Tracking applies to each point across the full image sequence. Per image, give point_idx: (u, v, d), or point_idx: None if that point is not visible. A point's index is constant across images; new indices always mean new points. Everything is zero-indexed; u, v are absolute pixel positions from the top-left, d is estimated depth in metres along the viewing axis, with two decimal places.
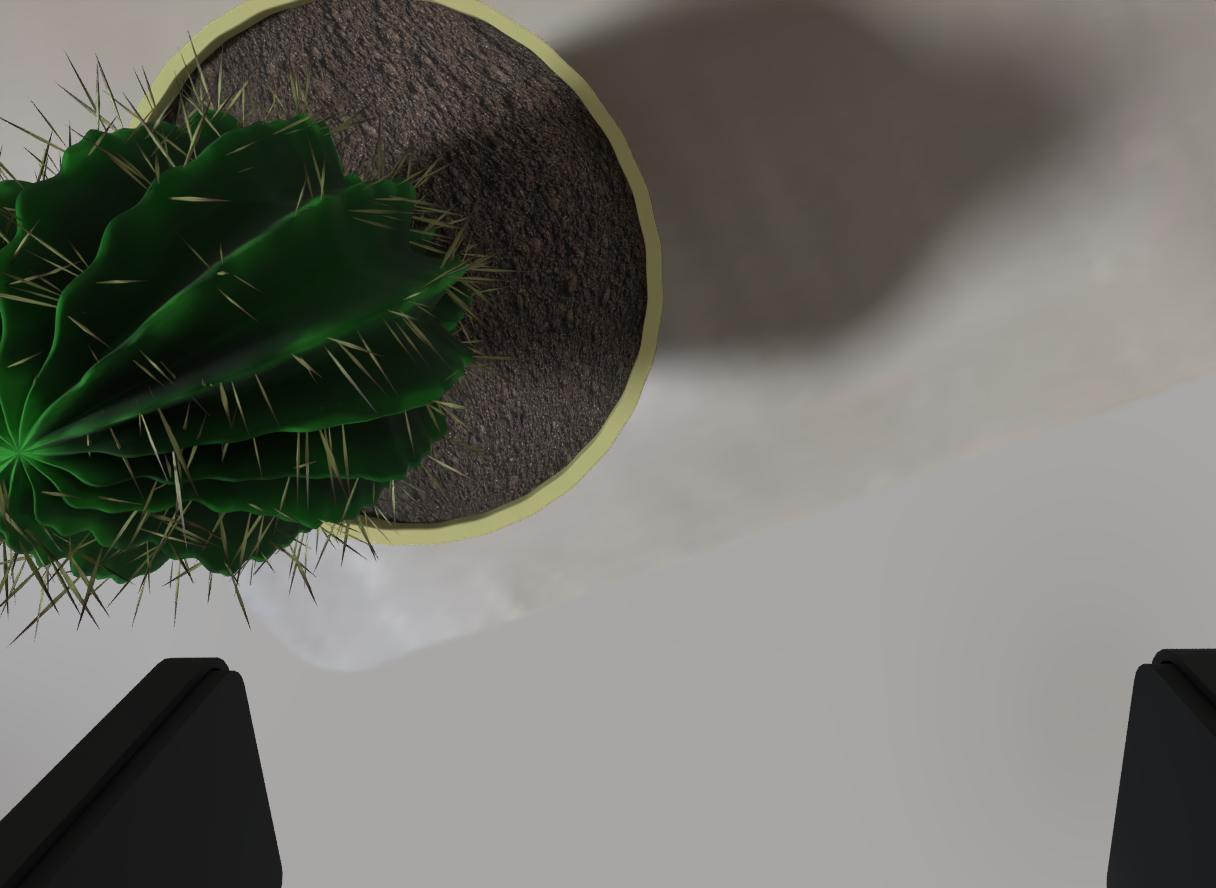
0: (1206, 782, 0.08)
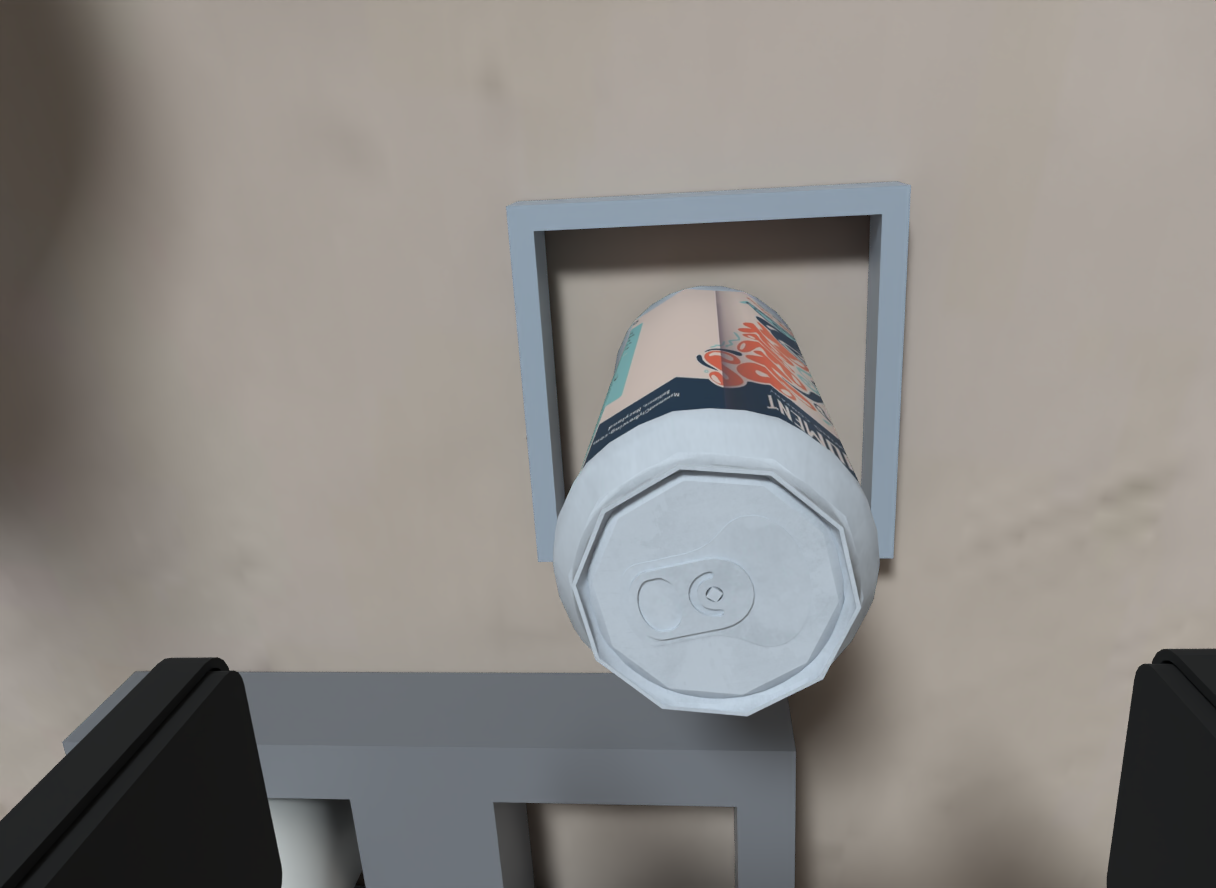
0: (1206, 782, 0.08)
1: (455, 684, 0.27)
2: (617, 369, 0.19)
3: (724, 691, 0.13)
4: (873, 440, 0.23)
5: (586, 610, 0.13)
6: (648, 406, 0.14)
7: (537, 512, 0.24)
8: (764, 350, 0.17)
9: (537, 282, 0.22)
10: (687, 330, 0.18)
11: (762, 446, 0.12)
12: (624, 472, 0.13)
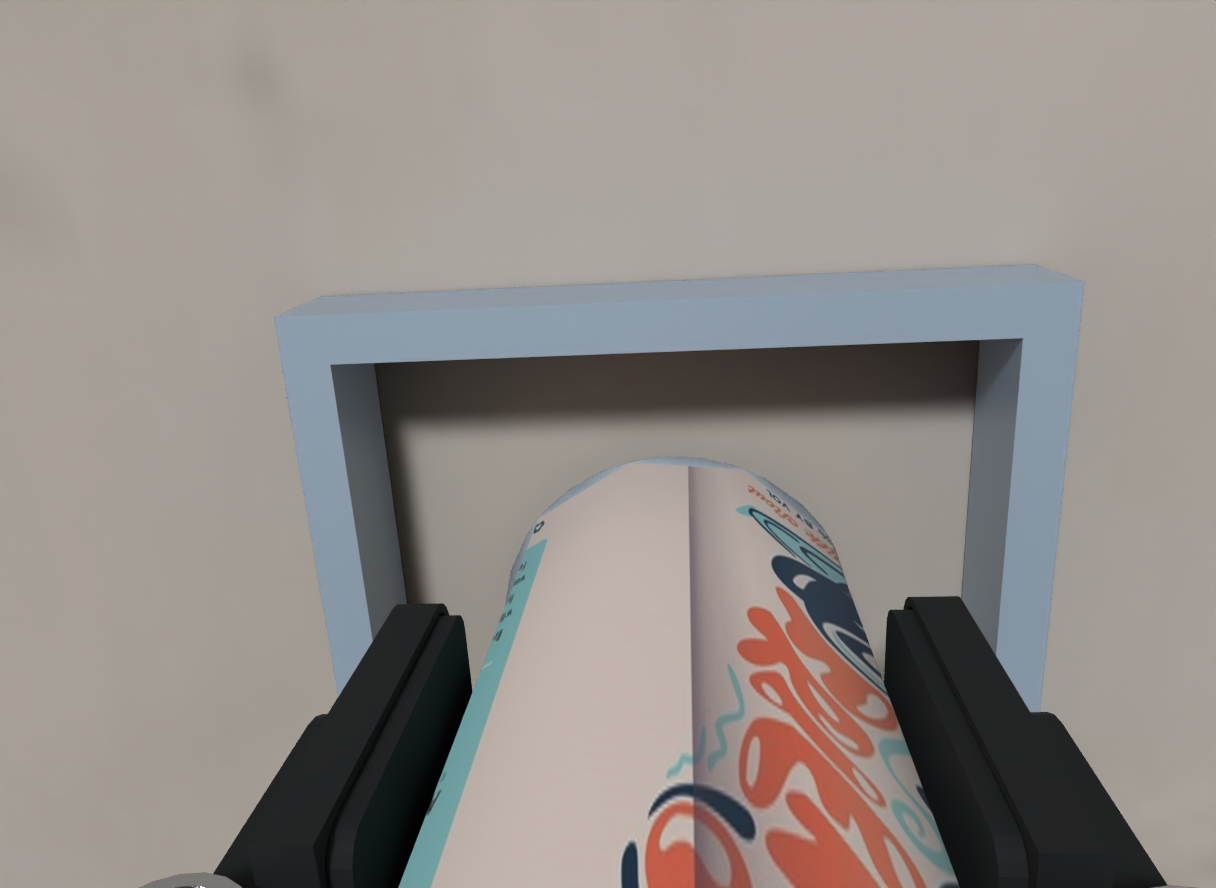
0: (914, 705, 0.09)
1: None
2: None
3: None
4: None
5: None
6: None
7: None
8: (810, 766, 0.06)
9: (345, 459, 0.11)
10: (615, 663, 0.07)
11: None
12: None
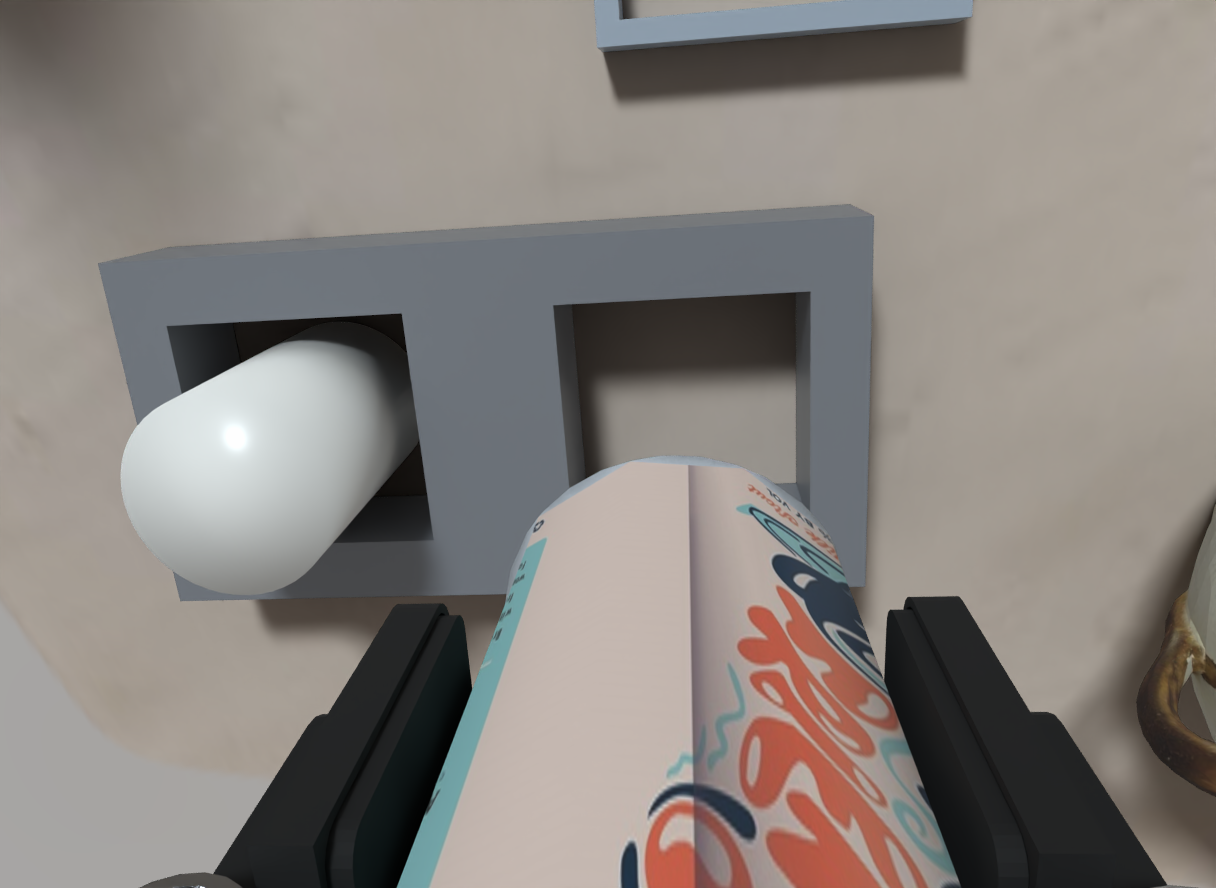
0: (914, 705, 0.09)
1: (506, 227, 0.26)
2: None
3: None
4: None
5: None
6: None
7: None
8: (811, 765, 0.06)
9: None
10: (615, 662, 0.07)
11: None
12: None
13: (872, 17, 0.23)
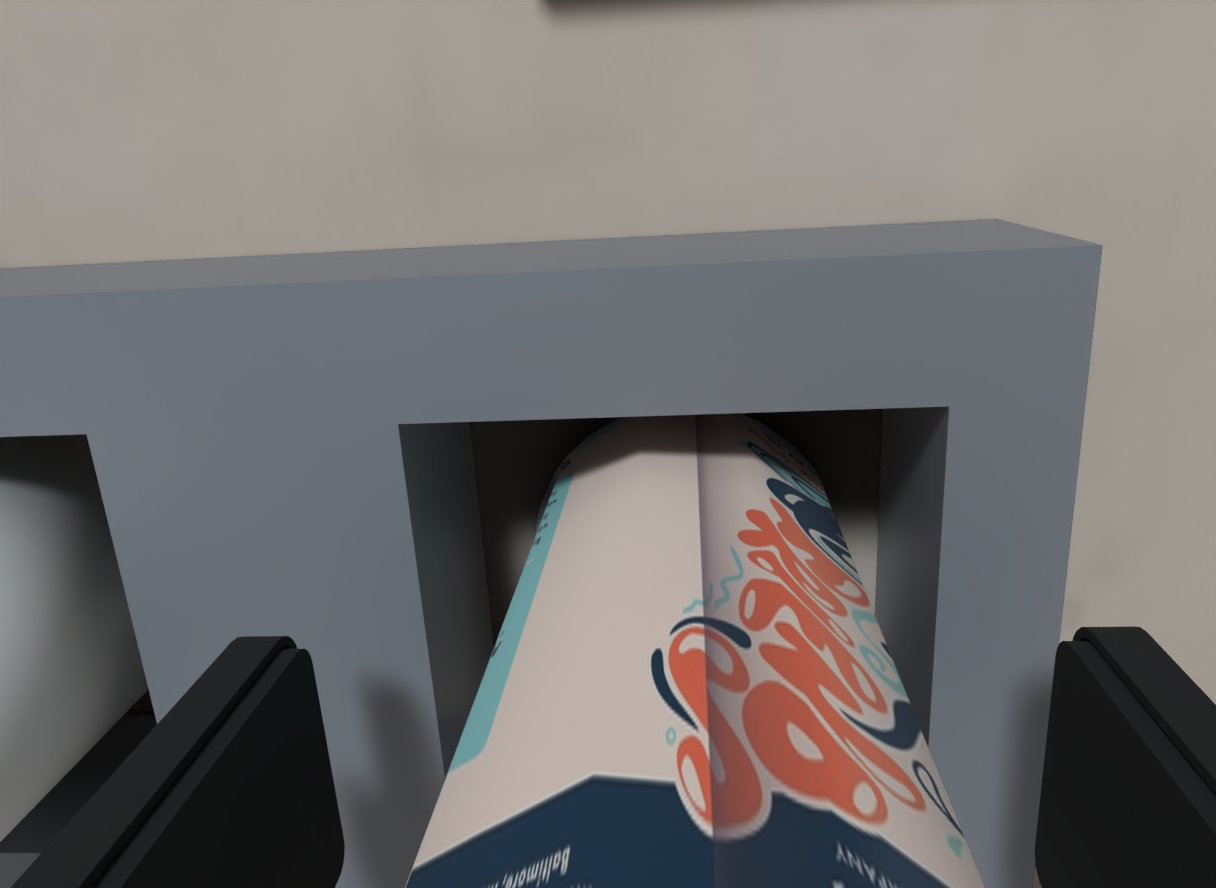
0: (1111, 750, 0.08)
1: (335, 256, 0.13)
2: None
3: None
4: None
5: None
6: None
7: None
8: (795, 609, 0.08)
9: None
10: (640, 543, 0.09)
11: None
12: None
13: None
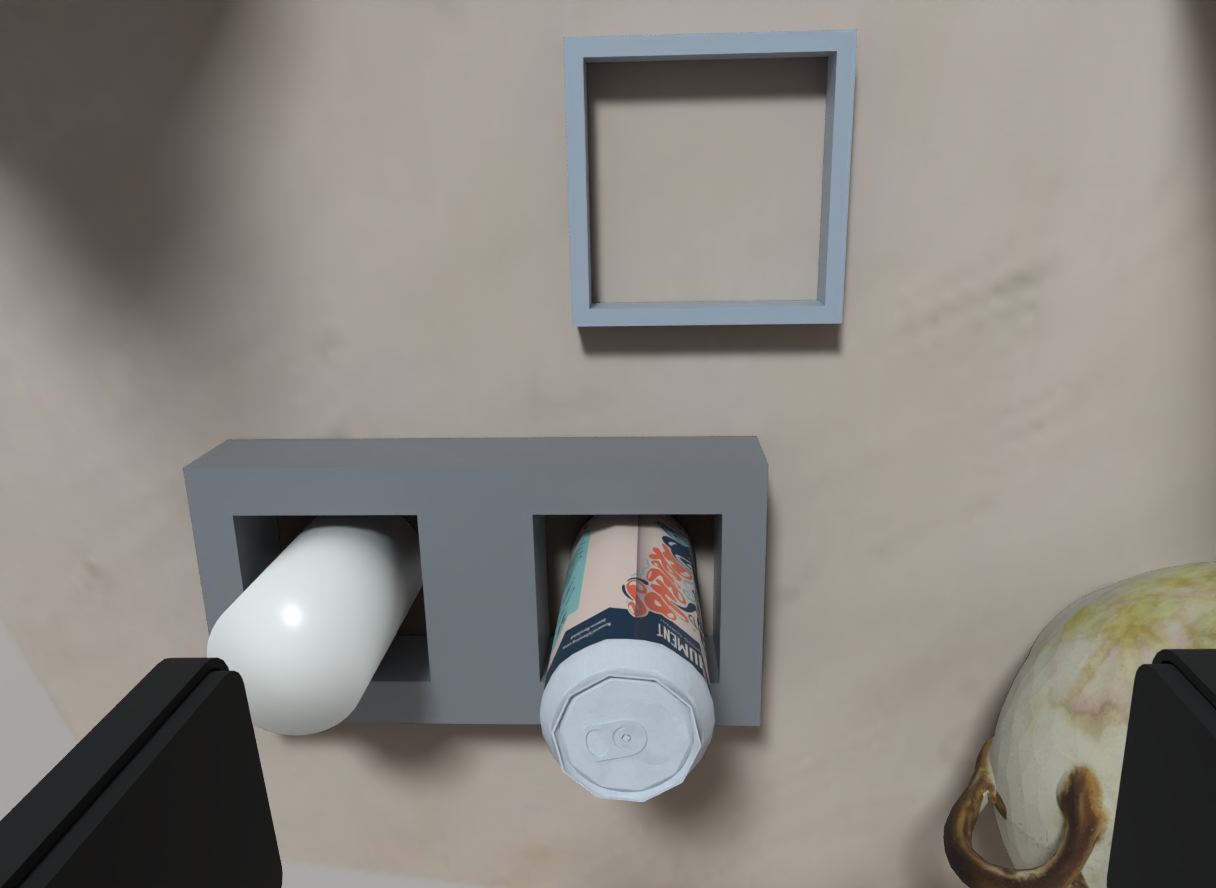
0: (1206, 782, 0.08)
1: (497, 442, 0.34)
2: (574, 573, 0.31)
3: (631, 788, 0.25)
4: (828, 227, 0.30)
5: (558, 744, 0.24)
6: (593, 628, 0.26)
7: (573, 285, 0.31)
8: (662, 576, 0.29)
9: (583, 98, 0.30)
10: (617, 557, 0.30)
11: (651, 662, 0.24)
12: (580, 673, 0.24)
13: (771, 319, 0.31)
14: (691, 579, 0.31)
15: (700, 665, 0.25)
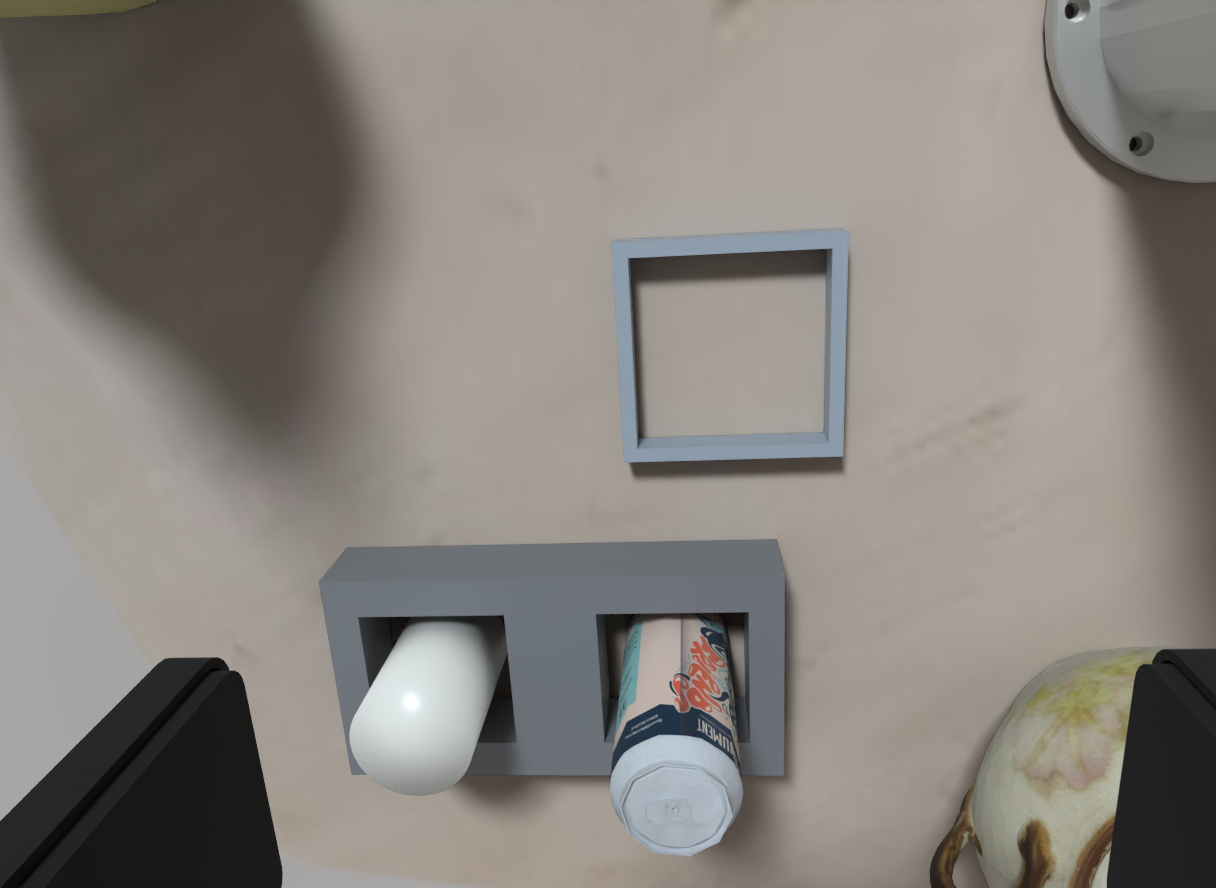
0: (1206, 782, 0.08)
1: (564, 549, 0.42)
2: (630, 662, 0.39)
3: (680, 845, 0.33)
4: (829, 383, 0.38)
5: (624, 814, 0.32)
6: (648, 722, 0.33)
7: (624, 430, 0.39)
8: (701, 671, 0.36)
9: (629, 288, 0.37)
10: (665, 653, 0.37)
11: (693, 754, 0.32)
12: (639, 762, 0.32)
13: (785, 454, 0.39)
14: (724, 666, 0.38)
15: (731, 751, 0.33)
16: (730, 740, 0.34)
